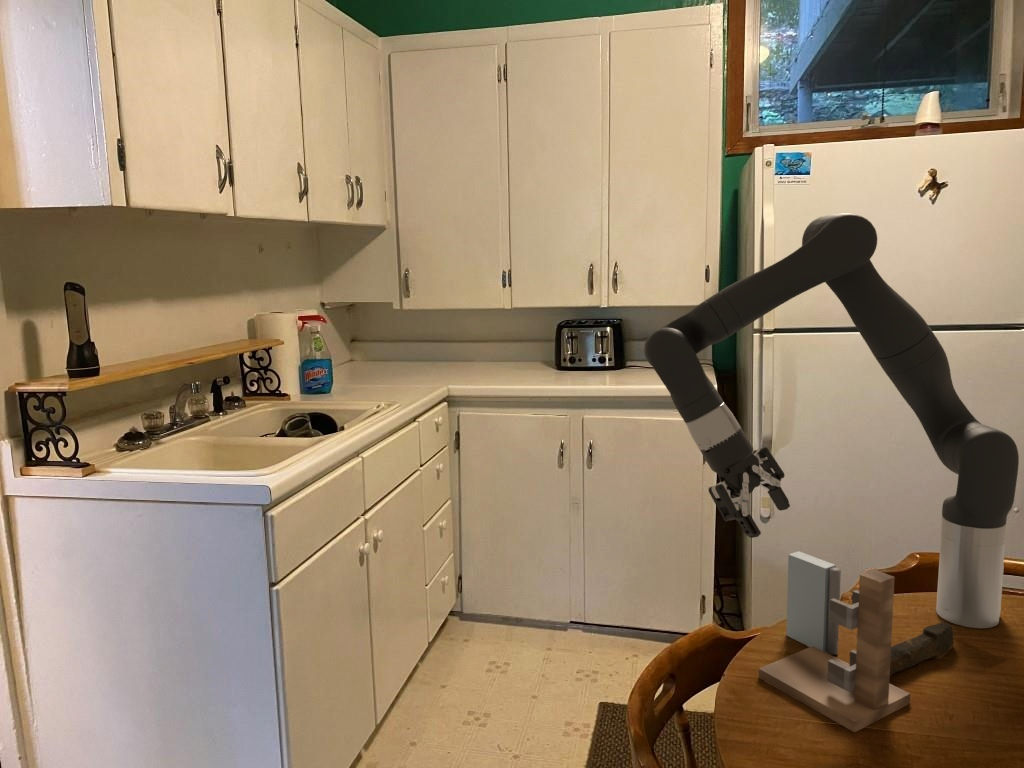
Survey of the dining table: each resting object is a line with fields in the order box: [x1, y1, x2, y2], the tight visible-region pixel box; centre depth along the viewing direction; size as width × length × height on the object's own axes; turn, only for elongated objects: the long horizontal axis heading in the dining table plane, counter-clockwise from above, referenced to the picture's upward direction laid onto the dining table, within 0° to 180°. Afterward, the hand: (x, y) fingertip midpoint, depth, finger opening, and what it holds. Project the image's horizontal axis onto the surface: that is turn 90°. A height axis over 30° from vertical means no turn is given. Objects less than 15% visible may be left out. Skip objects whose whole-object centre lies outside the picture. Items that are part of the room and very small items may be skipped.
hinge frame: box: [758, 569, 911, 733], centre depth 109 cm, size 12×16×20 cm
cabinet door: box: [786, 550, 842, 656], centre depth 122 cm, size 2×9×14 cm, turn 31°
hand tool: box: [890, 622, 955, 677], centre depth 116 cm, size 19×4×5 cm, turn 115°
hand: (770, 522), depth 125 cm, fingers open, 8 cm apart
